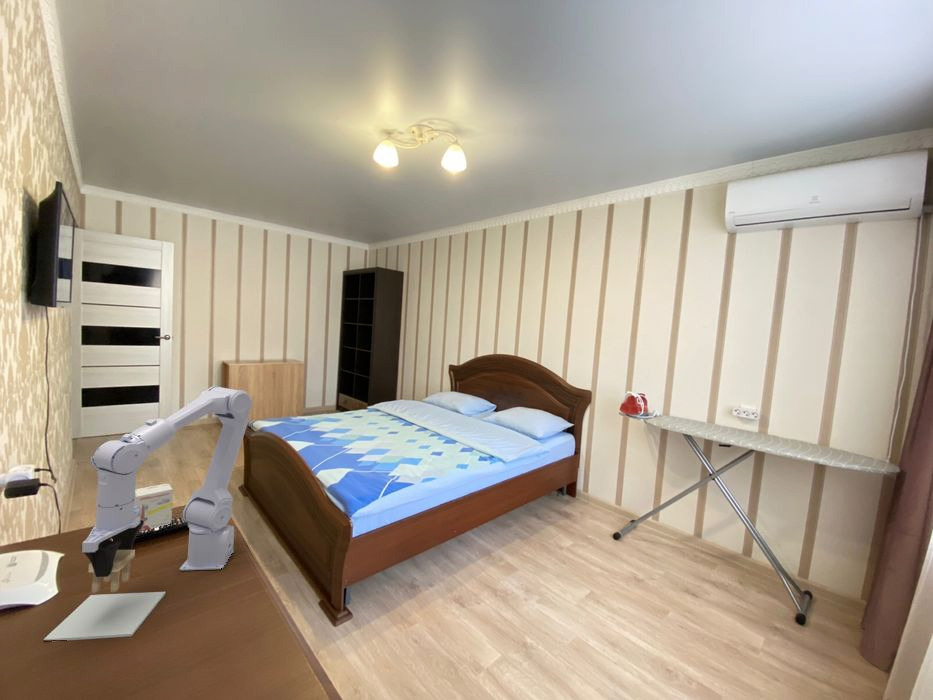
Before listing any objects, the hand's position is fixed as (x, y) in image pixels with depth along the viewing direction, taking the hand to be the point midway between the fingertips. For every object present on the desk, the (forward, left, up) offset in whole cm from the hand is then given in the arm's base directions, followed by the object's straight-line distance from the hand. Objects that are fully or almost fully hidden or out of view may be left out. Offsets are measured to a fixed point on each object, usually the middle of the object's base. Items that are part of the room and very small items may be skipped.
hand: (112, 566), depth 78 cm
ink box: (+10, -34, -10) cm, 37 cm away
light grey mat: (0, 0, -10) cm, 10 cm away
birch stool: (0, 0, -4) cm, 4 cm away
